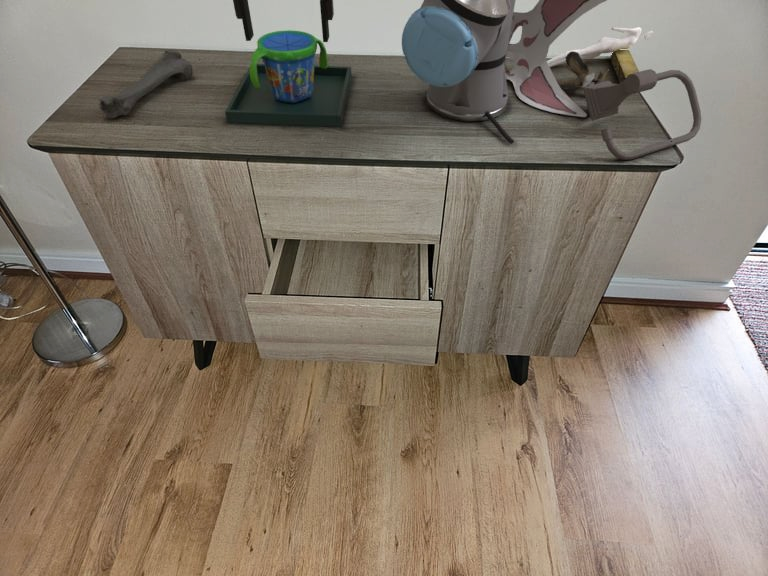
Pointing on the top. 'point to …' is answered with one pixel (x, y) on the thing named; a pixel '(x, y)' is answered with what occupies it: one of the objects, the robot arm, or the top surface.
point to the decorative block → (623, 64)
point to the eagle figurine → (579, 73)
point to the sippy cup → (288, 63)
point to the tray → (312, 111)
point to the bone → (146, 83)
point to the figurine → (604, 45)
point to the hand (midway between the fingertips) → (288, 38)
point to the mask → (543, 53)
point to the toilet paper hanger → (610, 96)
